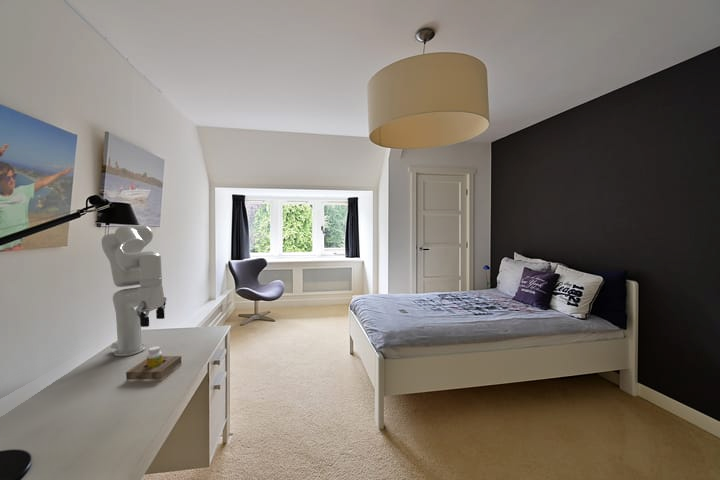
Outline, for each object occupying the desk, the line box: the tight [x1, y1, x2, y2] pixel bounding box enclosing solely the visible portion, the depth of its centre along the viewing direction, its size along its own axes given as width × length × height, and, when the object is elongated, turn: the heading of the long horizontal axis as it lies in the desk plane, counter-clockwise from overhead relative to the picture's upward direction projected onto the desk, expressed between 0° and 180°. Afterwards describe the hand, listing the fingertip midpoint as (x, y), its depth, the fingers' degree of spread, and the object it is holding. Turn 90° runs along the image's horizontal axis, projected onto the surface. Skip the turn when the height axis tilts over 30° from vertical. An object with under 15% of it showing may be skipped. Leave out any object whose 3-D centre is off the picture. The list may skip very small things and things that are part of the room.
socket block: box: [125, 355, 183, 383], centre depth 127 cm, size 14×14×4 cm
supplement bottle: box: [146, 345, 163, 367], centre depth 127 cm, size 5×5×10 cm
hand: (153, 322), depth 126 cm, fingers open, 9 cm apart
